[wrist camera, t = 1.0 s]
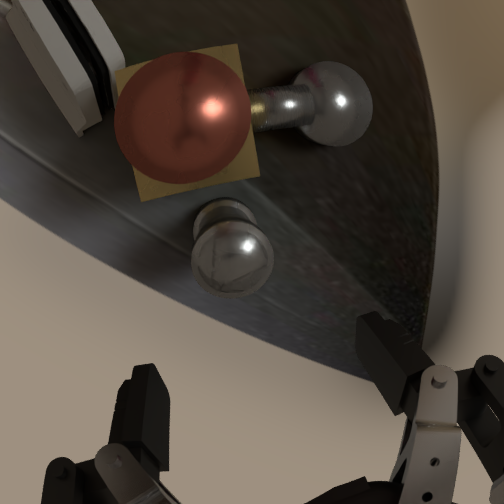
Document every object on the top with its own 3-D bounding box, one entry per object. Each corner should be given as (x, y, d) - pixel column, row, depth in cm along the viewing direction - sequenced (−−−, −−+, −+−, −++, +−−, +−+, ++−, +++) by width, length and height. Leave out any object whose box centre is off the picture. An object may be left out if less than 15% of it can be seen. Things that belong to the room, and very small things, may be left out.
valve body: (138, 87, 19) (92, 57, 10) (353, 60, 21) (435, 35, 11) (157, 181, 23) (126, 221, 13) (365, 146, 24) (450, 164, 14)
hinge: (8, 23, 13) (-17, -33, 5) (49, -4, 14) (40, -68, 6) (81, 141, 20) (61, 107, 11) (127, 107, 21) (137, 56, 12)
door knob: (187, 204, 24) (181, 233, 18) (249, 191, 24) (267, 214, 18) (201, 261, 26) (202, 305, 20) (259, 249, 26) (278, 288, 20)
